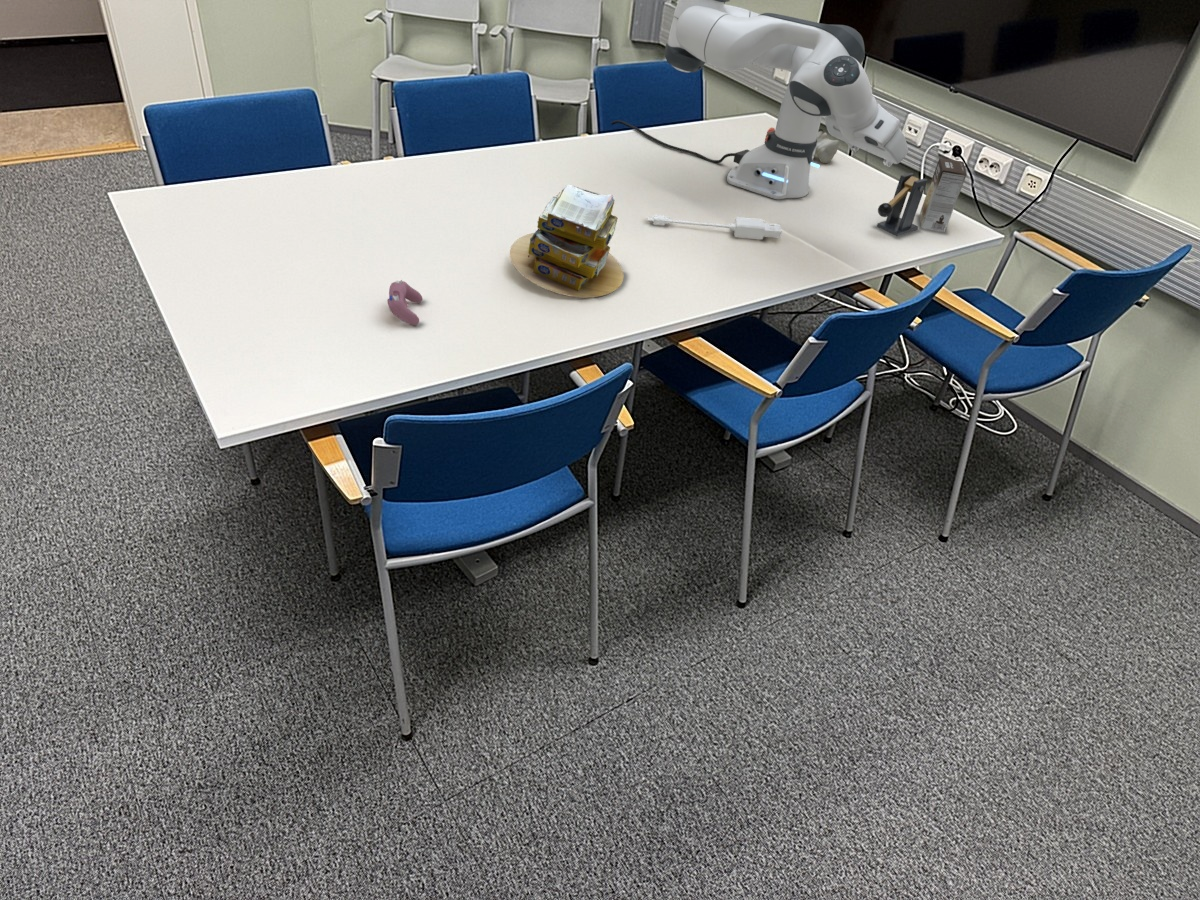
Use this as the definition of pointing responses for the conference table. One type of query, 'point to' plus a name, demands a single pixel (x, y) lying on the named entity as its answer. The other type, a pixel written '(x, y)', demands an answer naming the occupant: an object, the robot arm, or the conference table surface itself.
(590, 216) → the stack of yellow boxes
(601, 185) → the conference table surface
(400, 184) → the conference table surface
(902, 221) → the dark grey upright bracket
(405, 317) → the video game controller
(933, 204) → the coffee box
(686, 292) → the conference table surface
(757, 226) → the charging cable
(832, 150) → the ceramic sculpture
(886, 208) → the flush lever
